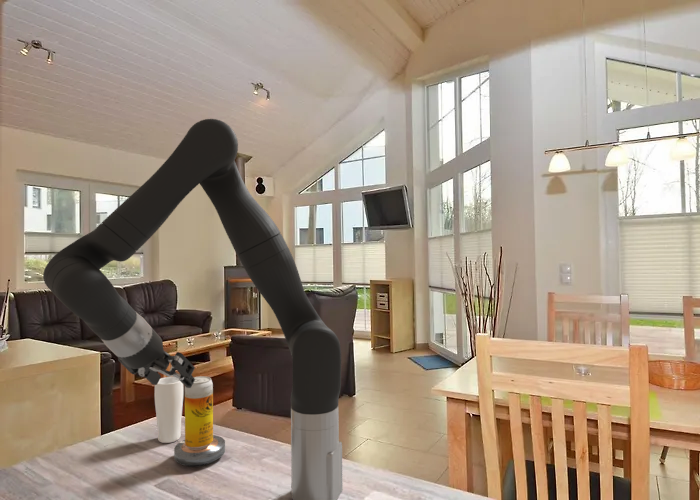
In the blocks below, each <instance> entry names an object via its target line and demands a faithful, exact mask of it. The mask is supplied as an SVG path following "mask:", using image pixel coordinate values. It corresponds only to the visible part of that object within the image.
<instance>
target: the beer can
mask: <svg viewBox="0 0 700 500" xmlns="http://www.w3.org/2000/svg"><path fill="white" fill-rule="evenodd" d="M193 377H194V376H193ZM194 378H195V381H194V383H193V385H192V387H191V388H186V386H185V385H184V440H185V445H186V446H187V447H188V448H189V449H191V450H200V449H204V448H207V447H208V446H210V444H211V442H212V441H213V435H214V388H213V387H214V384H213V380H212V378H211V377H210V376H204V375H202V376H195V377H194Z"/></svg>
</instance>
